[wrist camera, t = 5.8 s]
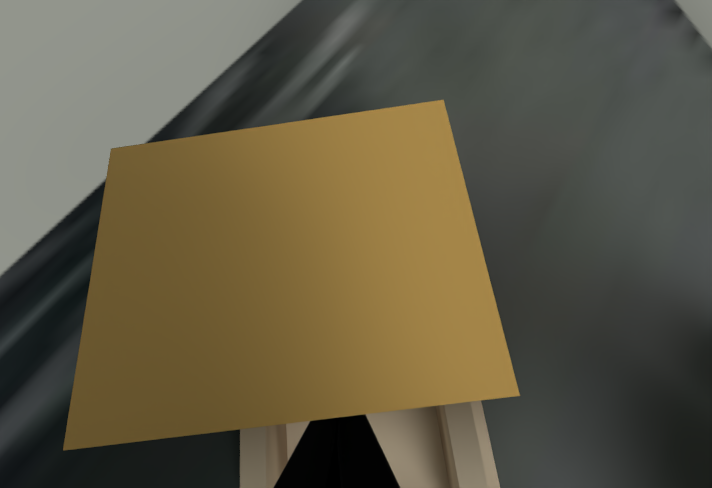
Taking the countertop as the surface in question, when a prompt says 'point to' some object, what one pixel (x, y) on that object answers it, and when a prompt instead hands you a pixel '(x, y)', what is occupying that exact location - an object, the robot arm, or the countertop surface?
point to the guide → (392, 448)
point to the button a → (285, 281)
